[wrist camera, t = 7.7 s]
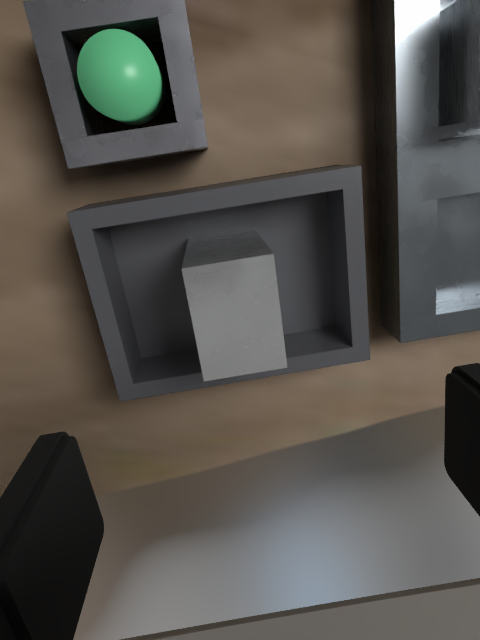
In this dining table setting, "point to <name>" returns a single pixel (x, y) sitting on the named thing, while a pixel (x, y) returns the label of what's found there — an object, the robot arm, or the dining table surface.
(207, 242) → the billet
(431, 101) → the pallet
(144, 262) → the tote
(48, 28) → the button housing
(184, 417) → the dining table surface
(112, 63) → the button
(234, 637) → the robot arm
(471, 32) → the billet
